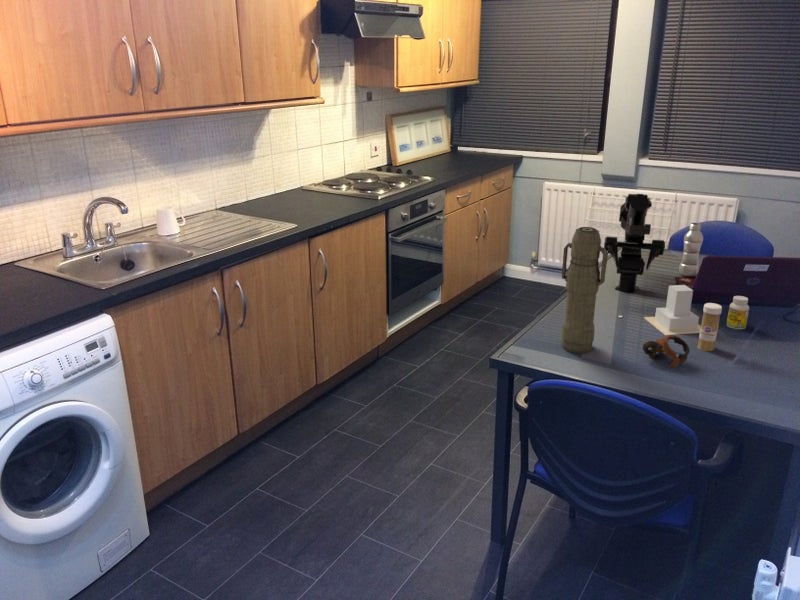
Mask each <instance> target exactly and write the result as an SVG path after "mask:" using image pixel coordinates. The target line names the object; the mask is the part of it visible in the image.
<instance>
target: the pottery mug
mask: <svg viewBox="0 0 800 600" xmlns="http://www.w3.org/2000/svg"><path fill="white" fill-rule="evenodd" d="M670 340H673V341H674V342H673V343H674V344H677V345H679V346H680V345H681V346H682V348H683V349H682V350H683V352H684V353H680V354H679V355H678V356H677V352H676V351H675V350H673V349H672V348H671V346H670V345H669V343H668V341H670ZM642 351H643V352H644V354H645V355H647V356H648V358H650V359H651V360H654V357H656V354H666V355H667V356H668V357H669V358H670V359H672V362H671V363H670V364H669V367H671V368H672V369H674V368H675V369H676V367H678V366H680V365H682V364H684V363H685V362H687V360H688V356H689V354H690V347H689V345H688V344H687V342H686V340H684V339H683V338H681V337H679V336H676V335H666V336H665V337H660V338H659V339H657V340H656V341H653V340H648V341H646V342H644V343H643V345H642Z"/></svg>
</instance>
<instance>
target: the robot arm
mask: <svg viewBox="0 0 800 600" xmlns="http://www.w3.org/2000/svg"><path fill="white" fill-rule="evenodd" d="M624 201H625V202H624V203H622V204H621V206H620V209H619V217H618V219H619V220H618V221H619V222H620V227H621V228H622V229H623V230H624V241H621V240H620V241H619V240H618V236H605V238H604V242H603V243H604V245H603V248H605V249H606V251H607V252H608V255H609V254H610V255H611V257H612V260H613V262H614V265H615V268H616V271H615V272H616V274H618V275H619V280H618V285H616V287H614V289H615V290H617V291H623V292H626V293H630V294H631V293H632V294H633V293H634V292H636V291H637V290H638V289H640V286H637V279H638V278H637V277H638V276H642V275H643V274H644V271H645V268H646V271H648V270H649V268H650V266H651V264H652V262H653V261H654V259H655V258H659V257H660V256H663V255H664V252H665V249H666V242H665V240H663V239H652V241H651V242H650V243H647V242H644V241H645V237H646V235H647V236H648V235H650V234H651V227H652V226H651V225H652V224H650V223H646V217H647V214H648V211H649V209H651V208H652V206H653V203H652V201H651V198H649V195H648V194H643V193H628V194H627V196H626V197H625V199H624ZM618 248H621V251H620V256H619V252H618V251H619V250H618ZM642 250H649V254H648V258H647V263H646V261H645V260H644V258H643V257H642ZM645 265H646V266H645Z"/></svg>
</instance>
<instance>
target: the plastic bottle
mask: <svg viewBox="0 0 800 600" xmlns="http://www.w3.org/2000/svg"><path fill="white" fill-rule="evenodd" d="M701 227H702V224H701V223H699V222H690V224H689V228H688V229H689V230H688V231H687V232H686V233H685V234H684V237H683V253H682V257H681V261H680V263H679V267H678V272H679V274H680V275H682V276H686V277H694V276H696V275H697V274H698V272H699V258H700V257H699V255H700V251H701V247H702V245H703V242H704V235H703V233H702V231H701V229H702V228H701Z"/></svg>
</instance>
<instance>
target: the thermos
mask: <svg viewBox="0 0 800 600" xmlns="http://www.w3.org/2000/svg"><path fill="white" fill-rule="evenodd" d="M601 244H602V239H601V235H600V231H599V229H596V228H595V227H591V226H582V227H578V228H577V229H575V231H574V233H573V235H572V238H571V242H568V243H567V244H566V245H565V246H564V247H563V255H562V268H561V269H562V270H561V279H562V280H564V281H565V289H566V302H565V303H566V304H565V313H564V314H565V315H564V323H563V326H562V327H561V347H562V348H563V349H564V350H565V351H567V352H571V353H576V354H577V353H579V354H586V353H588V352H591V351H592V349H593V343H594V340H595V330H596V329H595V323H594V319H595V309H596V300H597V293H598V292H599V287H600V286H602V284H604V283H605V282H606V281H605V280H606V272H607V264H608V259H609V257H608V256H609V253H608V251H606V249H605V248H604V246H603V247H602V246H601ZM568 249H570V257H571V258H570V260H569V266H568V269H567V260H568ZM601 254H602V261H601V269H600V267H599V266H600V264H599V263H600V262H599V259H600V255H601ZM600 270H601V271H600Z"/></svg>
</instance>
